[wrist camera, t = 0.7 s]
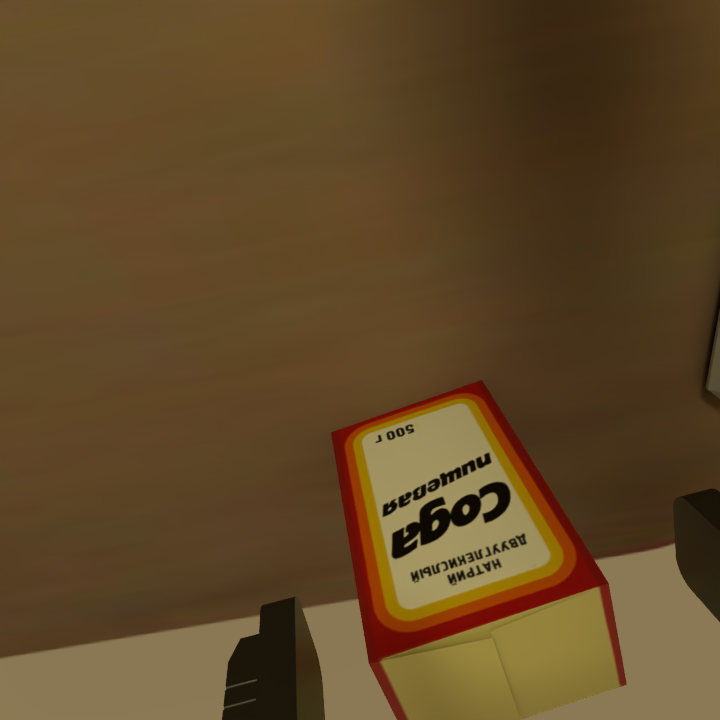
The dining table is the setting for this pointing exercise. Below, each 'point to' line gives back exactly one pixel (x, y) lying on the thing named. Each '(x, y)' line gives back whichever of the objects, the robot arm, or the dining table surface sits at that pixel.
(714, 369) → the decorative plate
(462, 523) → the baking soda box
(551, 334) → the dining table surface
